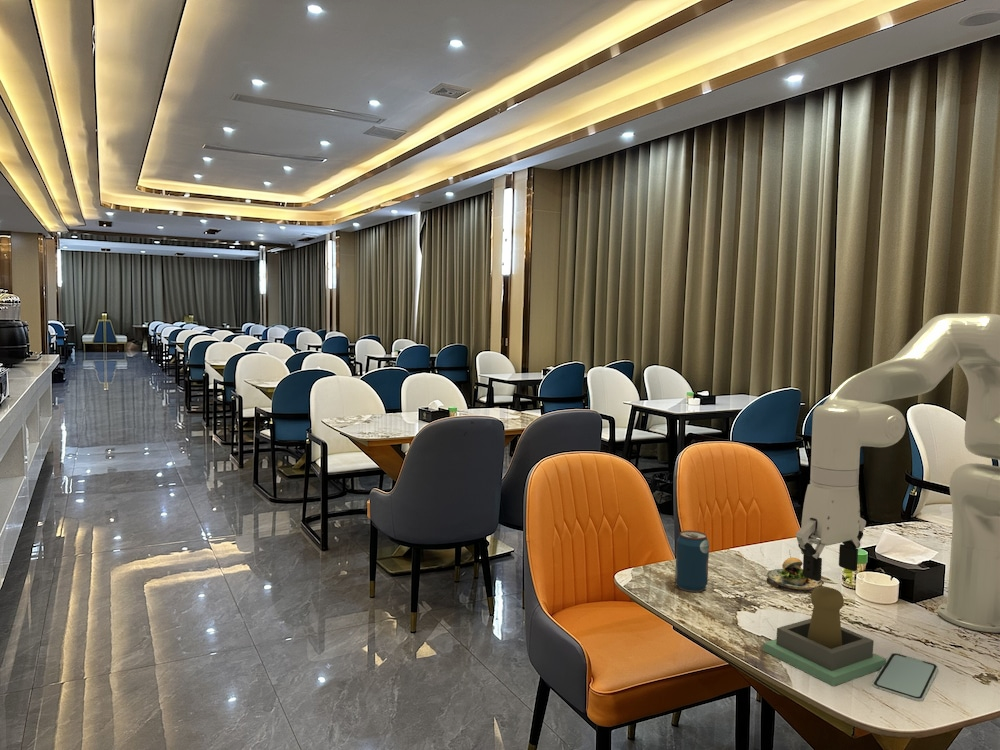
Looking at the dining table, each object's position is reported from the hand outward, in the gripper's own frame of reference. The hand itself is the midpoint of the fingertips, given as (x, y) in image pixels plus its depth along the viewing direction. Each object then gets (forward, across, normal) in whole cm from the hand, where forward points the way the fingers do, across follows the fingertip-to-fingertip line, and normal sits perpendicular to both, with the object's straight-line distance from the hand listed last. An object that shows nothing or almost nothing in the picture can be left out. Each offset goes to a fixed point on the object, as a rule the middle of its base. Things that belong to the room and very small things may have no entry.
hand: (830, 573), depth 124 cm
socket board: (+15, +1, 0) cm, 15 cm away
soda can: (+16, -3, -36) cm, 39 cm away
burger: (+16, -26, -27) cm, 41 cm away
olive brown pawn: (+14, +1, 0) cm, 14 cm away
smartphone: (+16, -6, +11) cm, 20 cm away
